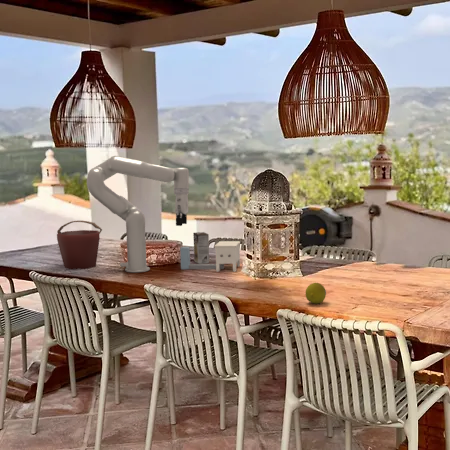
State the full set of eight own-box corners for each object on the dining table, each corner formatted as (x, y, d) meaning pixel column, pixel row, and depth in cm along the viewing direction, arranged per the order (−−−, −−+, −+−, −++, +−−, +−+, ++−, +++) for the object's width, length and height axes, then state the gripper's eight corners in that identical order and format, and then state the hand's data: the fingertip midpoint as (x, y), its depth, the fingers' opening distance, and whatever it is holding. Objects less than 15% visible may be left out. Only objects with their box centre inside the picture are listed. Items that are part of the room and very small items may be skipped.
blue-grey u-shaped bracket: (181, 269, 334) (180, 248, 333) (182, 267, 338) (182, 247, 337) (223, 269, 331) (222, 248, 330) (224, 267, 335) (223, 246, 334)
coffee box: (193, 261, 357) (192, 232, 355) (205, 260, 359) (204, 231, 357) (198, 264, 348) (197, 234, 347) (209, 263, 350) (208, 233, 349)
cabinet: (214, 271, 324) (214, 246, 323) (220, 265, 342) (219, 241, 340) (236, 271, 323) (236, 246, 321) (240, 265, 340) (240, 241, 339)
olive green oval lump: (320, 307, 245) (320, 286, 244) (301, 305, 249) (301, 284, 248) (330, 301, 255) (330, 281, 254) (311, 299, 258) (311, 279, 258)
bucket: (111, 264, 354) (109, 219, 352) (86, 271, 335) (84, 223, 332) (75, 262, 365) (72, 218, 362) (48, 269, 345) (46, 222, 342)
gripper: (184, 192, 324) (184, 226, 326) (192, 190, 341) (192, 223, 343) (169, 192, 325) (170, 226, 327) (178, 190, 342) (178, 222, 344)
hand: (181, 224), depth 335 cm, fingers open, 9 cm apart
